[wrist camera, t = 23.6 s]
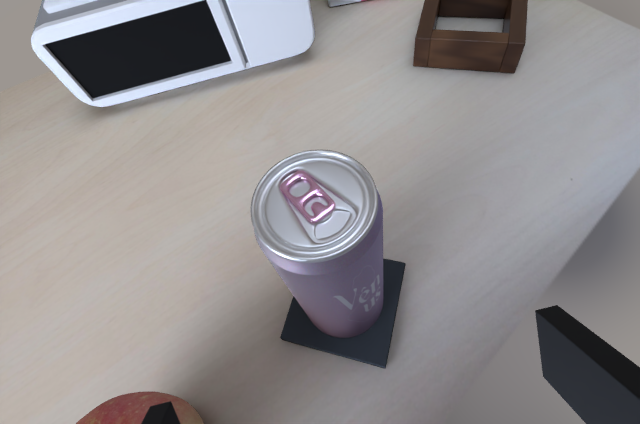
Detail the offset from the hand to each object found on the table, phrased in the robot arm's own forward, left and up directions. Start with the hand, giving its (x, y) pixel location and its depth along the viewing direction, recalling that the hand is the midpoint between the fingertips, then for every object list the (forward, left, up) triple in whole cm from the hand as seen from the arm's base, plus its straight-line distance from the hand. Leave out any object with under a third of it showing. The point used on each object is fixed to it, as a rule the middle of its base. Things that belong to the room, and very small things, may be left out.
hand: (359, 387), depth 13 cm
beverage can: (+4, -7, -14) cm, 16 cm away
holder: (-2, -39, -15) cm, 41 cm away
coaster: (+4, -7, -15) cm, 17 cm away
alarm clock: (+28, -31, -15) cm, 44 cm away
